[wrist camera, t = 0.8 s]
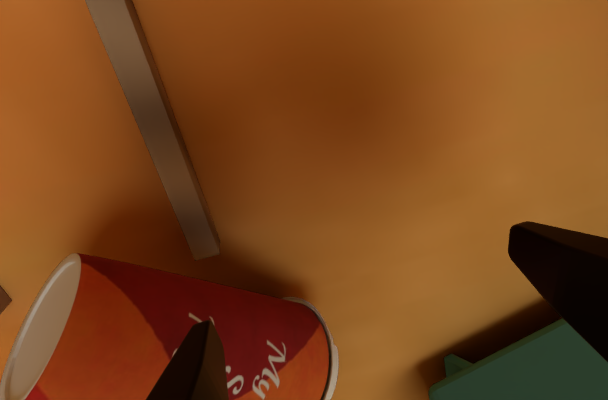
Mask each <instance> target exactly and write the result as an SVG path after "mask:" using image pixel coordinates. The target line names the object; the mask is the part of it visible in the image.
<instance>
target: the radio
mask: <svg viewBox="0 0 608 400" xmlns="http://www.w3.org/2000/svg"><path fill="white" fill-rule="evenodd" d="M444 363H445V371H446V378H445V379H443V380H441V381H439V382H437V383H435V384H433V385H432V386H431V387H430V389H429V400H608V362H607V361H606V360H605V359H604V358H603V357H602V356H601V355H600V354H598V353H597V352H596V351H595V350H594V349H593V348H592V347H591V346H590V345H589V344H588V343H587V342H586V341H585V340H584V339H583V338H582V337H581V336H580V335H579V334H578V333H577V332H576V331H575V330H574V329H573V328H572V327H571V326H570V325H569V324H568V323H567V322H566V321H565V320H564V319H563V318H562V319H560V320H558V321H556V322H554V323H552V324H550V325H548V326H546V327H544V328H542V329H540V330H538V331H536V332H535V333H533V334H531V335H529V336H527V337H525V338H523V339H521V340H519V341H517V342H515V343H513V344H511V345H509V346H507V347H505V348H503V349H501V350H500V351H498V352H496V353H494V354H492V355H490V356H488V357H486V358H484V359H482V360H480V361H478V362H476V363H474V364H472V363H470V362H468V361H466V360H464V359H462V358H460V357H458V356H456V355H454V354H450V355H448V356H446V357H444Z"/></svg>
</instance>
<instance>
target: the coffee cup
mask: <svg viewBox="0 0 608 400" xmlns="http://www.w3.org/2000/svg"><path fill="white" fill-rule="evenodd" d="M205 320H211V321H212V322H213V324H214V326H215V328H216V331H217V333H218V335H219V337H220V339H221V342H222V344H223V348H224V356H225V366H226V376H227V386H228V397H229V400H330V399H331V397H332V395H333V392H334V389H335V387H336V382H337V377H338V368H339V357H338V349H337V346H335V345H334V343H333V337H332V335H331V333H330V331H329V329H328V327H327V324H326V322H325V320H324V319H323V317H322V315H321V314H320V312H319V311H318V310H317V309H316V308H315V307H314V306H313V305H312V304H311V303H309V302H308V301H306V300H304V299H301V298H297V297H285V298H276V297H272V296H268V295H263V294H259V293H255V292H251V291H246V290H242V289H238V288H234V287H229V286H225V285H221V284H217V283H212V282H208V281H204V280H200V279H195V278H191V277H187V276H182V275H178V274H174V273H169V272H165V271H160V270H156V269H152V268H147V267H143V266H138V265H134V264H130V263H125V262H120V261H115V260H111V259H106V258H101V257H96V256H91V255H85V254H78V253H73V254H70V255H69V256H67V257H66V258H65V259H64V260H63V261H62V262H61V263H60V264H59V265H58V266H57V267H56V268H55V270H54V271H53V272H52V273H51V275H50V276H49V278H48V279H47V281H46V282H45V284H44V285H43V287H42V288H41V290H40V292H39V293H38V295H37V297H36V298H35V300H34V302H33V304H32V306H31V307H30V309H29V311H28V313H27V315H26V317H25V319H24V321H23V323H22V326H21V328H20V330H19V332H18V334H17V337H16V339H15V342H14V344H13V346H12V349H11V352H10V354H9V357H8V360H7V363H6V366H5V369H4V372H3V376H2V380H1V384H0V400H146V398H147V396H148V395H149V393H150V392H151V390H152V389H153V387H154V385H155V384H156V382H157V381H158V379H159V377H160V376H161V374H162V373H163V371H164V370H165V368H166V366H167V365H168V363H169V362H170V360H171V359H172V357H173V355H174V354H175V352H176V351H177V349H178V347H179V346H180V344H181V343H182V341H183V340H184V338H185V336H186V335H187V333H188V332H189V330H190V329H191V327H192V326H193V325H194V324H196V323H199V322H202V321H205Z"/></svg>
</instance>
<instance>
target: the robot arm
mask: <svg viewBox="0 0 608 400" xmlns="http://www.w3.org/2000/svg"><path fill="white" fill-rule="evenodd" d="M508 253H509V256H510V258H511V260H512V261H513V262H514V263H515V265H516V266H517V267H518V268H519V269H520V271H521V272H522V273H523V274H524V275H525V276H526V278H527V279H528V280H529V281H530V282H531V284H532V285H533V286H534V287H535V288H536V289H537V291H538V292H539V293H540V294H541V295H542V297H543V298H544V299H545V300H546V301H547V302H548V303H549V305H550V306H551V307H552V308H553V309H554V310H555V311H556V312H557V313H558V314H559V315H560V316H561V317H562V318H563V319H564V320H565V321H566V322H567V323H568V324H569V325H570V326H571V327H572V328H573V329H574V330H575V331H576V332H577V333H578V334H579V335H580V336H581V337H582V338H583V339H584V340H585V341H586V342H587V343H588V344H589V345H590V346H591V347H592V348H593V349H594V350H595V351H596V352H597V353H598V354H600V355H601V356H602V357H603V358H604V359H605V360H606V361H607V362H608V238H604V237H599V236H595V235H590V234H585V233H581V232H576V231H571V230H567V229H562V228H558V227H553V226H548V225H544V224H539V223H534V222H529V221H526V222H522V223H519V224H516V225H513V226H512V227H511V229H510V234H509V245H508ZM146 400H229V397H228V386H227V376H226V366H225V356H224V348H223V344H222V342H221V339H220V337H219V335H218V333H217V331H216V328H215V326H214V324H213V322H212V321H211V320H205V321H202V322H199V323H196V324H194V325H193V326H192V327H191V329H190V330H189V332H188V333H187V335H186V336H185V338H184V340H183V341H182V343H181V344H180V346H179V347H178V349H177V351H176V352H175V354H174V355H173V357H172V359H171V360H170V362H169V363H168V365H167V366H166V368H165V370H164V371H163V373H162V374H161V376H160V377H159V379H158V381H157V382H156V384H155V385H154V387H153V389H152V390H151V392H150V393H149V395H148V396H147V398H146Z"/></svg>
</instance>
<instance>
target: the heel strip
mask: <svg viewBox="0 0 608 400" xmlns="http://www.w3.org/2000/svg"><path fill="white" fill-rule="evenodd" d="M85 2H86V4H87V6H88V9H89V11H90V13H91V16H92V18H93V20H94V23H95V25H96V28H97V30H98V32H99V35H100V37H101V39H102V42H103V44H104V46H105V49H106V51H107V54H108V56H109V58H110V61H111V63H112V65H113V68H114V70H115V72H116V75H117V77H118V80H119V82H120V84H121V87H122V89H123V91H124V94H125V96H126V99H127V101H128V103H129V106H130V108H131V110H132V113H133V115H134V117H135V120H136V122H137V125H138V127H139V129H140V132H141V134H142V136H143V139H144V141H145V143H146V146H147V148H148V151H149V153H150V155H151V158H152V160H153V162H154V165H155V167H156V169H157V172H158V174H159V177H160V179H161V181H162V184H163V186H164V188H165V191H166V193H167V195H168V198H169V200H170V203H171V205H172V207H173V210H174V212H175V214H176V217H177V219H178V222H179V224H180V226H181V229H182V231H183V233H184V236H185V238H186V240H187V243H188V245H189V248H190V250H191V252H192V255H193V257H194V259H195V261H196V260H200V259H203V258H207V257H211V256H214V255H218V254H220V239H219V237H218V234H217V231H216V229H215V226H214V223H213V220H212V218H211V215H210V212H209V209H208V207H207V204H206V201H205V199H204V196H203V193H202V190H201V188H200V185H199V182H198V180H197V177H196V174H195V171H194V169H193V166H192V163H191V160H190V158H189V155H188V152H187V150H186V147H185V144H184V141H183V139H182V136H181V133H180V130H179V128H178V125H177V122H176V120H175V117H174V114H173V111H172V109H171V106H170V103H169V101H168V98H167V95H166V92H165V90H164V87H163V84H162V81H161V79H160V76H159V73H158V71H157V68H156V65H155V62H154V60H153V57H152V54H151V51H150V49H149V46H148V43H147V41H146V38H145V35H144V32H143V30H142V27H141V24H140V22H139V19H138V16H137V13H136V11H135V8H134V5H133V2H132V0H85Z"/></svg>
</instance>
